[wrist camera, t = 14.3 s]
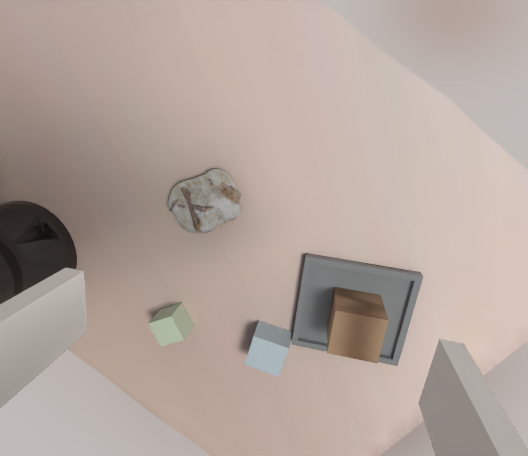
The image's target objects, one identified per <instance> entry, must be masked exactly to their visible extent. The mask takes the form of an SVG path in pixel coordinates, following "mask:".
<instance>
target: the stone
mask: <svg viewBox="0 0 528 456" xmlns="http://www.w3.org/2000/svg"><path fill="white" fill-rule="evenodd" d="M240 196H241V193H239V192H238V191H237V190H236V188H235V185H234V181H233V179H232V177H231V176H230V174H228V173H227V172H225V171H223V170H219V169H213V170H208V172H207V173H206V174H205V175H201V176H198V177H196V178H193V179H189V180H186V181H183V182H181V183H178V184H177V185H176V186H175V187H174V188H173V190H172V192H171V194H170V197H169V201H168V207H169V208H170V209H169V210H170V211H172V213H174V214H175V215H176V217H177V221H178V223H179V224H180V225H181V226H182V228H183V229H185V230H187V231H189V232H193V233H206V232H209V231H212V230H213V228H214V227H215V226H217V225H219V224H223V223H225V222H227V221H230V220H234V219H235V218H236V217H237V216H238V215H239V213H240V204H239V199H240Z"/></svg>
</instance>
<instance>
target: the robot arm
mask: <svg viewBox="0 0 528 456" xmlns="http://www.w3.org/2000/svg"><path fill="white" fill-rule="evenodd" d="M76 265H77V255H76V249H75V245H74V242H73V240H72V238H71V236H70V234H69V232H68V230H67V229H66V227H65V226H64V225H63V223H62V222H61V221H60V220H59V219H58V218H57V217H56V216H55V215H54V214H52V213H51V212H50V211H48V210H47V209H45V208H44V207H42V206H40V205H37V204H34V203H31V202H26V201H15V202H10V203H7V204H3V205H0V408H1V407H2V406H3V405H5V404H6V403H7V402H8V401H9V400H10V399H11V398H13V397H14V396H15V395H16V394H17V393H18V392H19V391H20V390H22V389H23V388H24V387H25V386H26V385H27V384H28V383H30V382H31V381H32V380H33V379H34V378H35V377H36V376H38V375H39V374H40V373H41V372H42V371H43V370H44V369H45V368H46V367H48V366H49V365H50V364H51V363H52V362H53V361H55V360H56V359H57V358H58V357H59V356H60V355H61V354H62V353H64V352H65V351H66V350H67V349H68V348H69V347H70V346H72V345H73V344H74V343H75V342H76V341H77V340H78V339H80V338H81V337H82V336H83V335H84V334H85V333H86V332H88V324H87V310H86V296H85V281H84V271H82V270H77V269H76ZM419 406H420V409H421V412H422V415H423V418H424V421H425V424H426V427H427V430H428V433H429V436H430V440H431V443H432V446H433V449H434V452H435V455H436V456H528V448H527V447H526V445H525V443H524V442H523V440H522V438H521V437H520V435H519V434H518V432H517V431H516V429H515V427H514V425H513V424H512V422H511V420H510V419H509V417H508V415H507V414H506V412H505V411H504V409H503V408H502V406H501V404H500V402H499V401H498V399H497V397H496V396H495V394H494V393H493V391H492V389H491V388H490V386H489V384H488V383H487V381H486V379H485V378H484V376H483V375H482V373H481V371H480V370H479V368H478V366H477V365H476V363H475V361H474V360H473V358H472V356H471V355H470V353H469V352H468V350H467V348H466V347H465V345H464V344H463V343H458V342H452V341H447V340H442V339H439V342H438V345H437V348H436V351H435V354H434V357H433V360H432V363H431V367H430V370H429V373H428V376H427V379H426V382H425V385H424V388H423V391H422V394H421V397H420V400H419Z"/></svg>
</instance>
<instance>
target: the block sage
mask: <svg viewBox="0 0 528 456" xmlns="http://www.w3.org/2000/svg"><path fill="white" fill-rule="evenodd" d="M148 325H149V326H150V328H151V330H152V332H153V334H154V335H155V337H156V339H157V341H158V343H159V344H160V346H161V347H162V346H165V345H168V344H172V343H175V342H179V341H182V340H184V339H185V338H186V336H187V335H188V333H189V331H190V330H191V328H192V327H193V325H194V323H193V321H192V319H191V317H190V315H189V314H188V312H187V310H186V308H185V306H184V304H183V302H181V303H178V304H175V305H172V306H169V307H166V308H163V309H160V310H159V312H158V313H157V314H156V315H155V316H154V317H153V318H152V320H151V321H150V322H149V323H148Z"/></svg>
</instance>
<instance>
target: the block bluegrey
mask: <svg viewBox="0 0 528 456" xmlns="http://www.w3.org/2000/svg"><path fill="white" fill-rule="evenodd" d="M291 333H292V331H289V330H286V329H283V328H280V327H277V326H274V325H271V324H268V323H266V322H263V321H260V320H259V322H258V324H257V327H256V330H255V333H254V336H253V339H252V342H251V346H250V349H249V352H248V355H247V359H246V362H245V365H247V366H250V367H253V368H256V369H258V370H261V371H264V372H267V373H270V374H273V375H275V376H278V377H279V374H280V372H281V369H282V366H283V363H284V360H285V358H286V355H287V352H288V349H289V345H290V339H291Z"/></svg>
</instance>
